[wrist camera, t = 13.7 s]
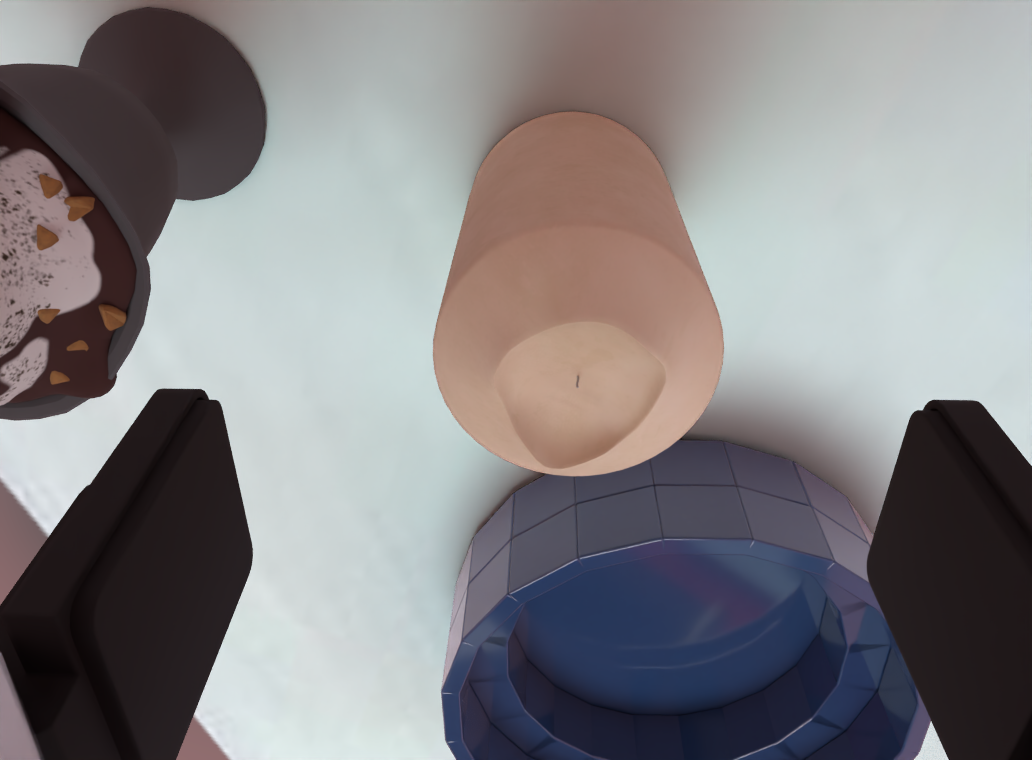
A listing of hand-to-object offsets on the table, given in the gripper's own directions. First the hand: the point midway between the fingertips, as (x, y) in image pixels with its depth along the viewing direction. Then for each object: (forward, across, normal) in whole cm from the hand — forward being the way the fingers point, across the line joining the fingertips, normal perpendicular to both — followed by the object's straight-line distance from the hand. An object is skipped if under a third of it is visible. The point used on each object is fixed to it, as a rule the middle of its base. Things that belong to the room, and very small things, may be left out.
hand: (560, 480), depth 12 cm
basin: (+13, -5, +16) cm, 21 cm away
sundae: (+14, +10, -2) cm, 17 cm away
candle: (+13, -1, +1) cm, 13 cm away
